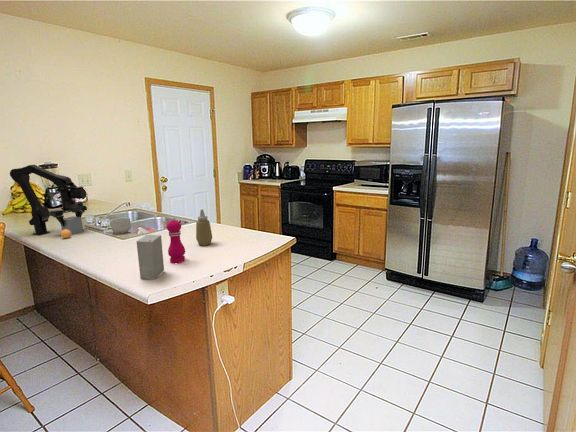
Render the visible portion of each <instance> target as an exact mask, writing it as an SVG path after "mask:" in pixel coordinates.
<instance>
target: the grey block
mask: <svg viewBox="0 0 576 432" xmlns="http://www.w3.org/2000/svg"><path fill="white" fill-rule="evenodd" d="M63 220H64V225H65V227H63V226H62V225H61V224H60V227H61V231H62V230H65V229H67V230H70V231H71V236H72V235H76V234H80V233H82V232H83V233H84V226H83V222H82V221H83V220H82V216H81V217H76V215H74V216H73V215H72V216H67V217H63Z"/></svg>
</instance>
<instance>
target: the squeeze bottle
mask: <svg viewBox="0 0 576 432" xmlns="http://www.w3.org/2000/svg"><path fill="white" fill-rule="evenodd" d="M211 227H212V226H211V222H210V220H208V216H207V215H205V212H204V209H200V213H199V216H197V221H196V227H195V228H196V229H195V234H196V235H195V238H196V241H197V243H198V245H199V246H202V247H203V246H204V247H205V246H209V245H211V243H212V241H213V233H212V228H211Z"/></svg>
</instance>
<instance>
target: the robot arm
mask: <svg viewBox="0 0 576 432" xmlns="http://www.w3.org/2000/svg"><path fill="white" fill-rule="evenodd" d="M31 174H34V175H36V176H39V177H42V178H43V179H46V180H48V181H50V182H52V184H53V185H54V186H56V187H57V189H55V192H56V193H57V192H58V193H59V195H60V199H61V200H60V201H59V203H60V204H61V205H62V207H61V209H55V210H54V209H53V210H49V209H48V207H47V206H43V205H42V204H41V202H40V200H39V197H38V196H37V194H36V192H35V190H34V188H33V186H32V185H31V182H30V177H31V176H30V175H31ZM9 176H10V178H11V179H12V180H13V182H15V183H16V184H17V185H19V187H20V189H21V190H22V193H23V194H24V196H25V198H26V200H27V202H28V204H29V205H30V208H31V211H30V214H31V217H32V218H31V219H30V220H29V221H28V224H29V226H33V228H34V229H33V230H34V232H33V233H32V235H35V236H41V235H45V234H47V233H51V231H50V230H48V229H47V224H46V223H47V222H49V218H50V217H53V218H55V219H56V220H57V221H58V223H59V224H60V226H61V225H62V226H63V227H65V225H64V220H63V218H65V215H64V214H67V213H74V214H75V217H81V218H82V216H83V214H84V213H86V211H88V207H87V206H86V205H84V203H83V202H78V203H76V200H75V199H77V200H78V199H86V198H87V195H88V193H87V191H86V189H85V188H84V186H77V185H76V184H75V183H74V182H73V181H72V178H71V177H69V176H66V175H61V174H56V173H54V172H51V171H50V170H47V169H46V168H45V169H44V168H42V167H40V166H38V165H37V164H28V165H26V166H23V167H19V168H11V170H10V171H9Z"/></svg>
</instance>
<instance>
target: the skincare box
mask: <svg viewBox="0 0 576 432" xmlns="http://www.w3.org/2000/svg"><path fill="white" fill-rule="evenodd" d="M162 241H163V240H162V235H161V234H145V235H144V236H142V237H141V238H139V239H138V240H136V249H137V258H138V268H139V276H140V277H139V278H140V280H141V279H142V280H157V278H158V277H160V275H161V274H163V273H164V272H165V267H164V266H165V265H164V255H163V254H164V253H163V242H162Z"/></svg>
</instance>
